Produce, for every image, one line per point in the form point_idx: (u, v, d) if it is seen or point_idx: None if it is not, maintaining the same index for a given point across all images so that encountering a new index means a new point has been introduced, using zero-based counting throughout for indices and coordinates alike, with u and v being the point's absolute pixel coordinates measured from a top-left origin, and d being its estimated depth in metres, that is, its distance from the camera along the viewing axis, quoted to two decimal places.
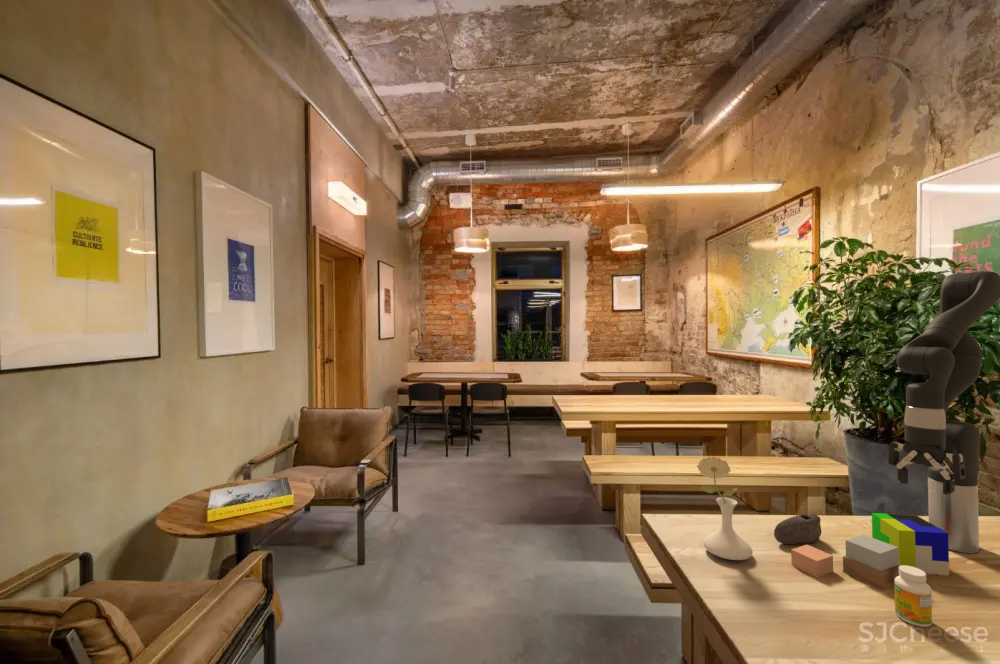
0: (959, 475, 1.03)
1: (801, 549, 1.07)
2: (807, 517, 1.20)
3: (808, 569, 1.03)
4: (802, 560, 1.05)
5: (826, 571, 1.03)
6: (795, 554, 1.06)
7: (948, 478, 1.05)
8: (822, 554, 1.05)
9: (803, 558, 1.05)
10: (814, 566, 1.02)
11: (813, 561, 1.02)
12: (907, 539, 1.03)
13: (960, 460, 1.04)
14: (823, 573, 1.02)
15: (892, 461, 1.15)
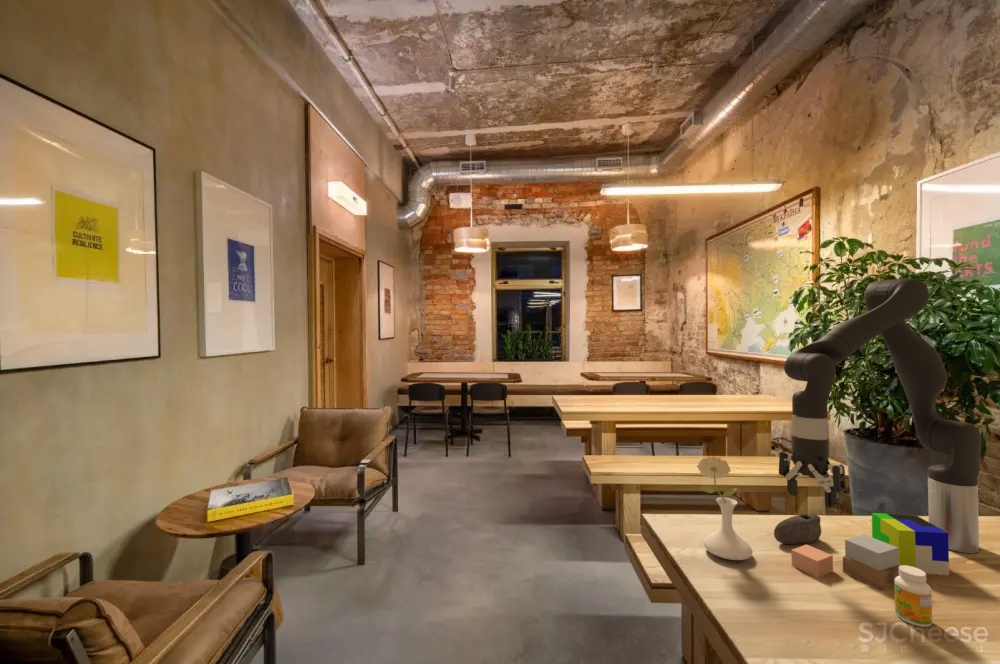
0: (838, 488, 0.99)
1: (801, 549, 1.07)
2: (807, 517, 1.19)
3: (808, 569, 1.03)
4: (803, 560, 1.05)
5: (826, 571, 1.03)
6: (795, 554, 1.06)
7: (829, 491, 1.00)
8: (821, 554, 1.05)
9: (803, 558, 1.04)
10: (814, 566, 1.02)
11: (814, 561, 1.02)
12: (907, 539, 1.03)
13: (839, 472, 0.99)
14: (823, 573, 1.03)
15: (782, 472, 1.11)
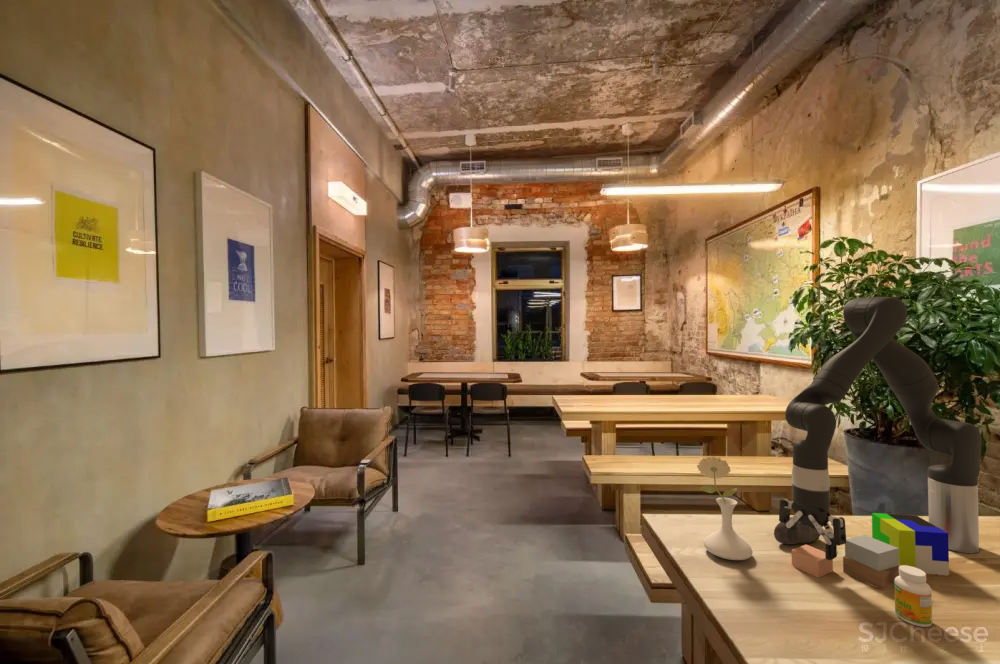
0: (839, 541, 0.99)
1: (801, 549, 1.07)
2: None
3: (809, 569, 1.03)
4: (803, 560, 1.04)
5: (826, 571, 1.03)
6: (795, 554, 1.06)
7: (829, 543, 1.00)
8: (821, 553, 1.05)
9: (803, 558, 1.04)
10: (815, 566, 1.02)
11: (814, 561, 1.02)
12: (907, 539, 1.03)
13: (840, 525, 0.99)
14: (824, 573, 1.03)
15: (782, 519, 1.11)
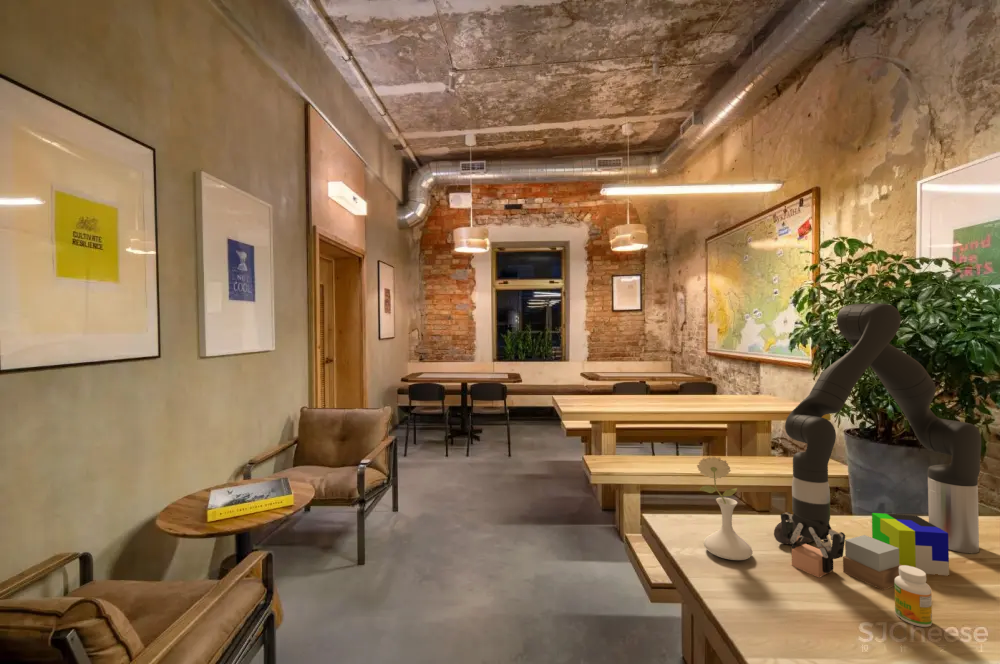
0: (835, 555, 0.99)
1: (801, 549, 1.07)
2: None
3: (809, 569, 1.03)
4: (803, 560, 1.04)
5: None
6: (795, 554, 1.06)
7: (826, 556, 1.01)
8: (821, 553, 1.05)
9: (803, 558, 1.04)
10: (815, 566, 1.02)
11: (814, 560, 1.02)
12: (907, 539, 1.03)
13: (839, 541, 0.99)
14: None
15: (786, 534, 1.10)
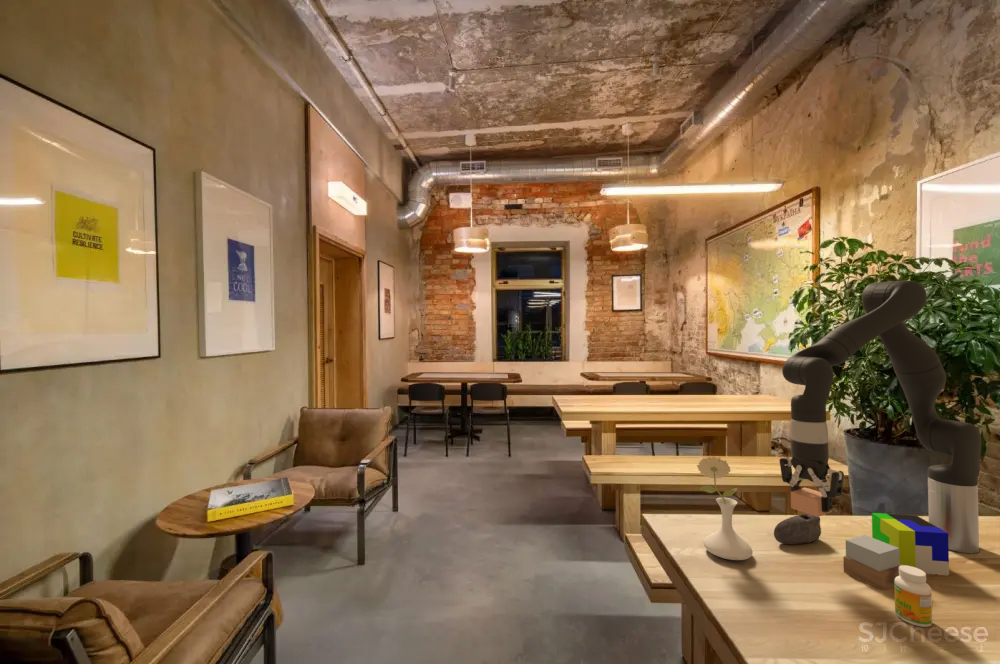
0: (834, 493, 1.00)
1: (800, 491, 1.07)
2: (807, 517, 1.20)
3: (808, 509, 1.03)
4: (802, 501, 1.04)
5: None
6: (794, 496, 1.06)
7: (825, 496, 1.01)
8: (820, 494, 1.05)
9: (802, 499, 1.04)
10: (814, 506, 1.02)
11: (813, 500, 1.02)
12: (907, 539, 1.03)
13: (838, 479, 0.99)
14: (823, 512, 1.03)
15: (785, 479, 1.10)
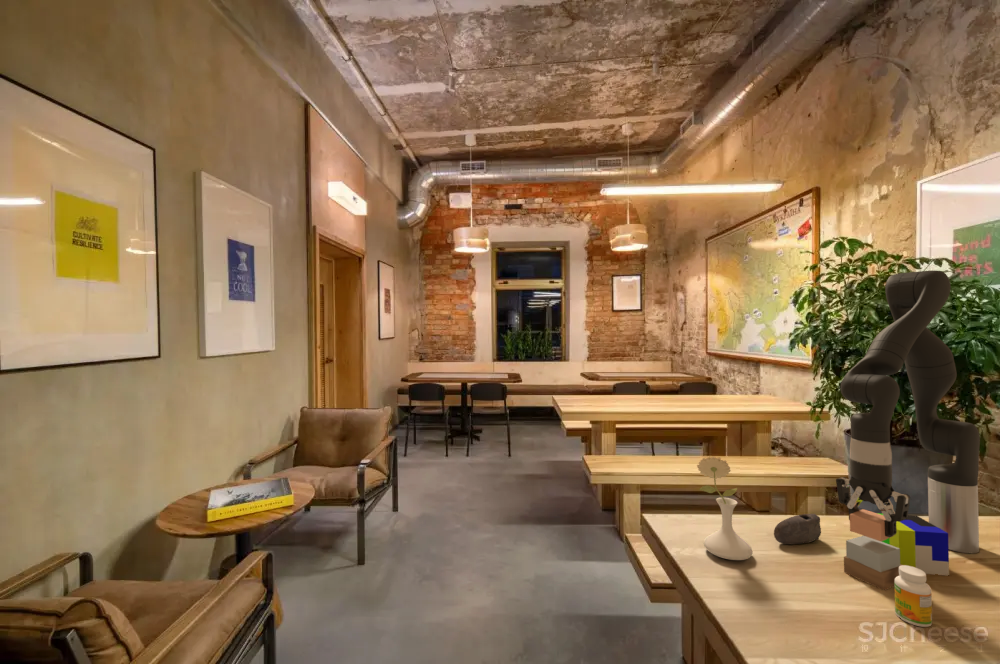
0: (900, 517, 0.95)
1: (860, 514, 1.03)
2: (807, 517, 1.20)
3: (870, 533, 0.99)
4: (863, 524, 1.00)
5: None
6: (854, 518, 1.02)
7: (889, 519, 0.97)
8: (882, 517, 1.01)
9: (863, 522, 1.00)
10: (877, 529, 0.98)
11: (876, 524, 0.98)
12: (907, 539, 1.03)
13: (904, 502, 0.95)
14: (886, 536, 0.98)
15: (843, 500, 1.06)
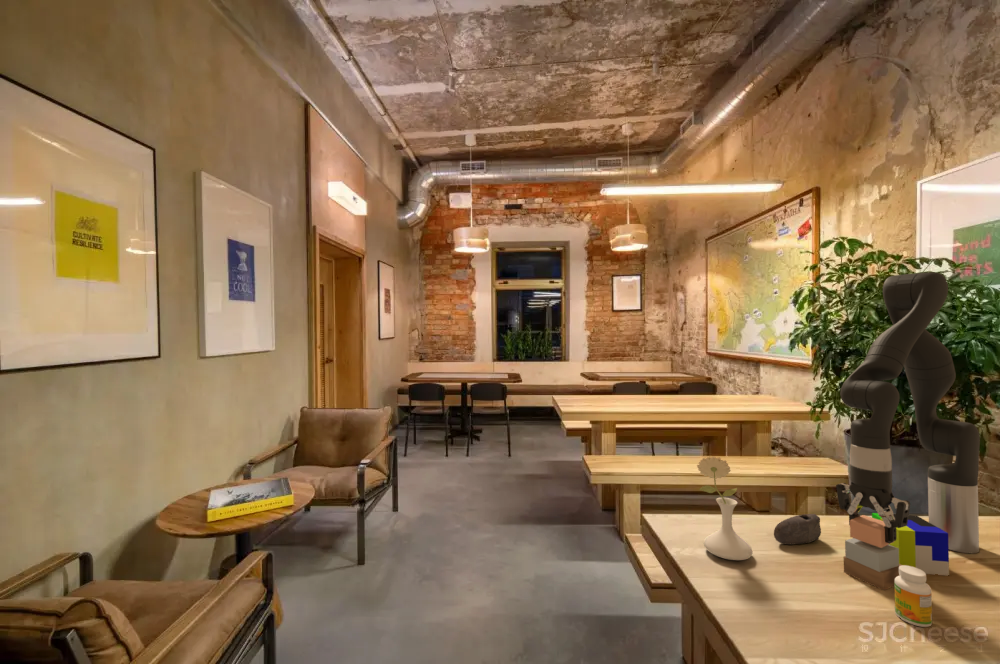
0: (900, 523, 0.96)
1: (860, 519, 1.03)
2: (807, 517, 1.20)
3: (870, 539, 0.99)
4: (863, 530, 1.00)
5: None
6: (854, 524, 1.02)
7: (889, 526, 0.97)
8: (882, 523, 1.01)
9: (864, 528, 1.00)
10: (877, 536, 0.98)
11: (876, 530, 0.98)
12: (907, 539, 1.03)
13: (904, 509, 0.95)
14: (886, 543, 0.99)
15: (843, 506, 1.06)
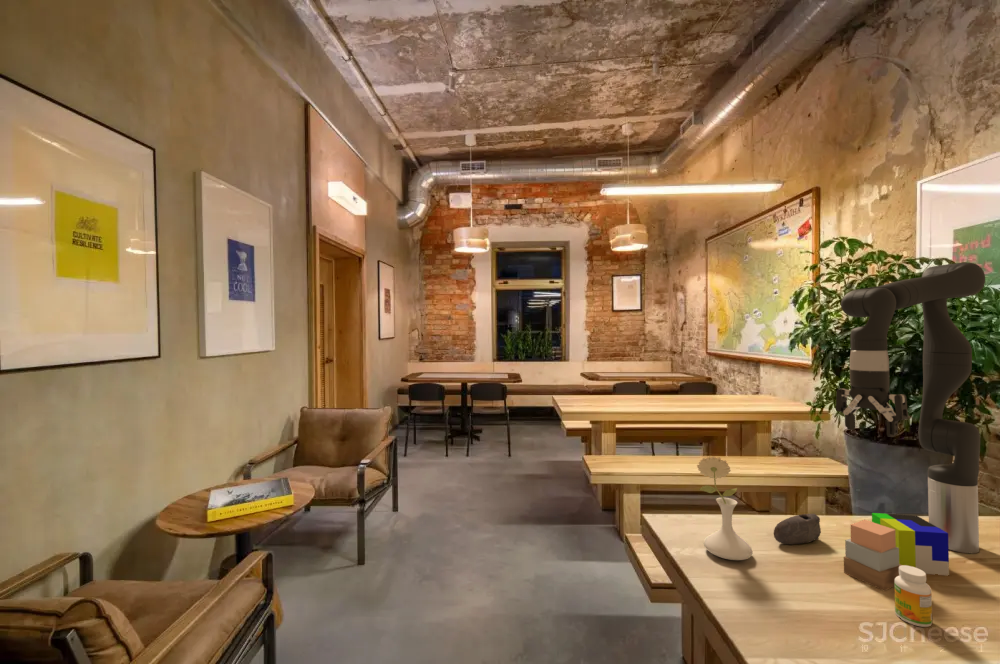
0: (901, 416, 1.01)
1: (861, 524, 1.03)
2: (806, 517, 1.20)
3: (870, 544, 0.99)
4: (864, 535, 1.00)
5: (889, 546, 0.99)
6: (855, 529, 1.02)
7: (891, 420, 1.03)
8: (883, 528, 1.01)
9: (864, 533, 1.00)
10: (877, 541, 0.98)
11: (877, 535, 0.98)
12: (907, 539, 1.03)
13: (902, 400, 1.02)
14: (886, 548, 0.98)
15: (839, 408, 1.14)
